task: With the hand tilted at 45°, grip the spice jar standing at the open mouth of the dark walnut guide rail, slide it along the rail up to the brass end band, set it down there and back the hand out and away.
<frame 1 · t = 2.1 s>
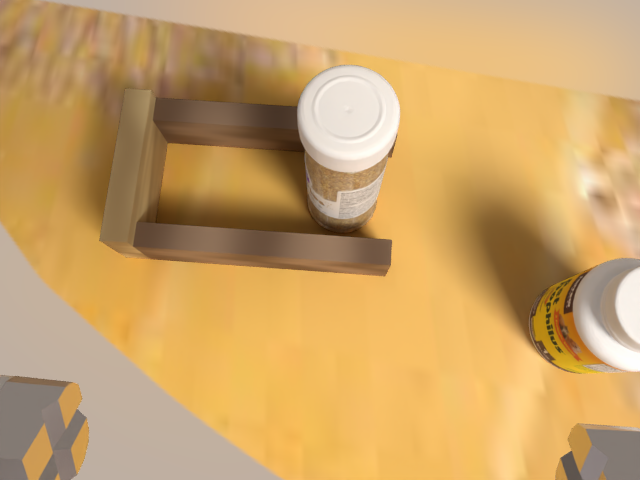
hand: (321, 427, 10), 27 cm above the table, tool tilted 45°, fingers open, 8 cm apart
spice jar: (342, 202, 39), on the table
supplement bottle: (569, 328, 37), on the table
guide rail: (281, 196, 39), on the table
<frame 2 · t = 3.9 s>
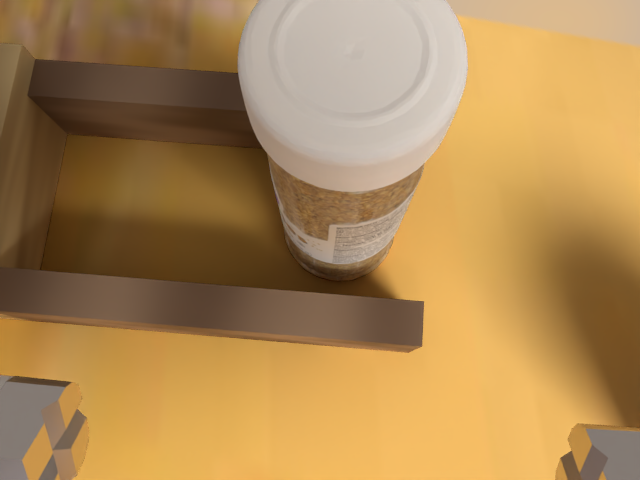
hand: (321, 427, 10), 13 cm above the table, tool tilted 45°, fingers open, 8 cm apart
spice jar: (339, 230, 25), on the table
guide rail: (243, 221, 25), on the table
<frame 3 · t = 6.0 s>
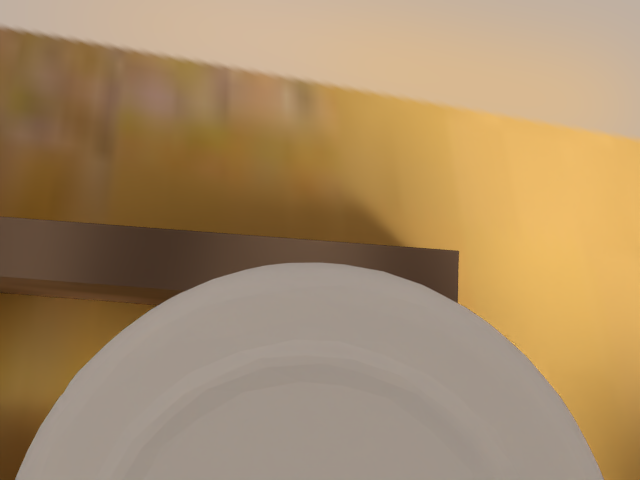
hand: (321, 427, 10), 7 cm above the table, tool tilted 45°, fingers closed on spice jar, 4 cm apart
spice jar: (321, 433, 17), on the table, touching gripper
guide rail: (183, 421, 17), on the table
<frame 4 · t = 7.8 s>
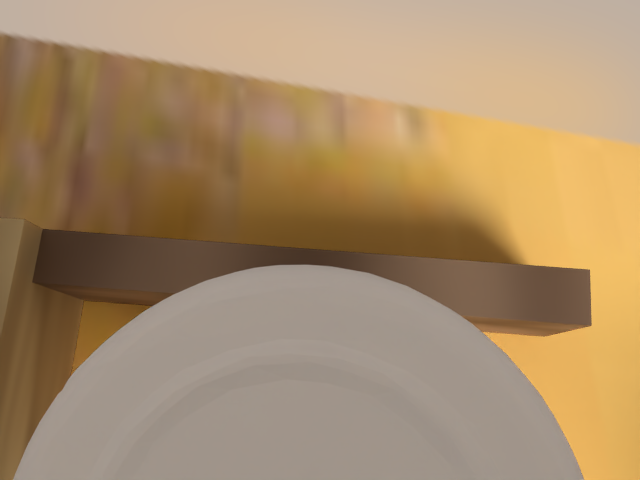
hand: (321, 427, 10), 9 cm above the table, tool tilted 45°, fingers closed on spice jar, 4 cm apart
spice jar: (327, 434, 17), point 1 cm above the table, touching gripper
guide rail: (318, 423, 19), on the table
when the fingers open (8 cm above the table, at t = 10.0 s): spice jar stays where it is, on the table.
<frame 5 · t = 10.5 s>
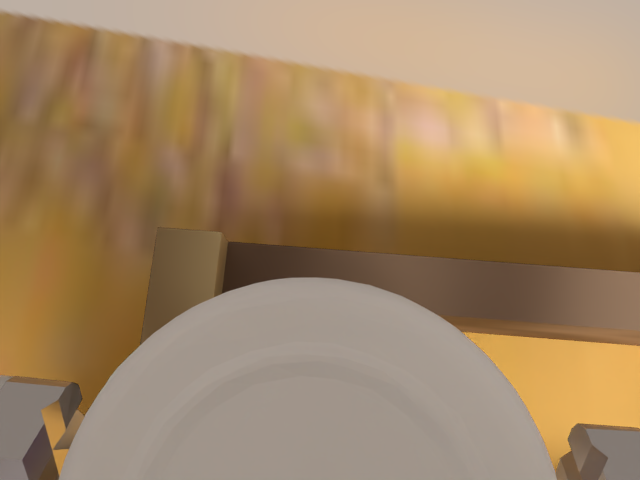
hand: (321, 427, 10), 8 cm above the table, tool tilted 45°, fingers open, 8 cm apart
spice jar: (320, 432, 18), on the table
guide rail: (494, 444, 18), on the table
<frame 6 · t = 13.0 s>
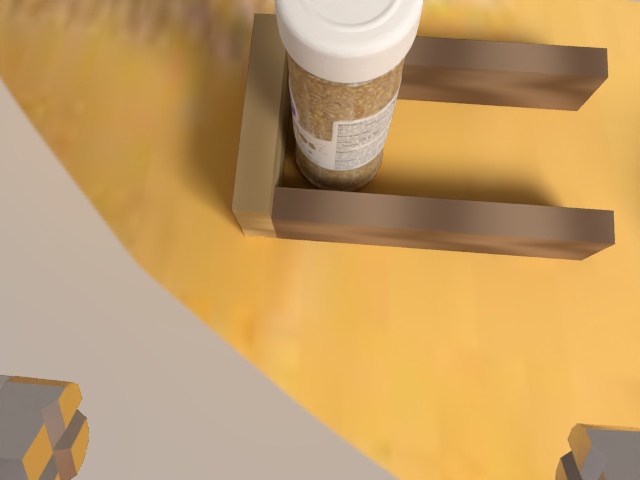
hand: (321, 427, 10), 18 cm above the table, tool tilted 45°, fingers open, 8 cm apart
spice jar: (339, 156, 31), on the table
guide rail: (441, 159, 31), on the table
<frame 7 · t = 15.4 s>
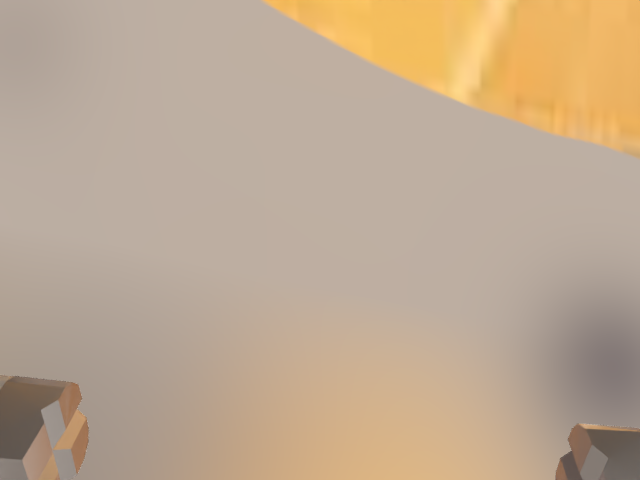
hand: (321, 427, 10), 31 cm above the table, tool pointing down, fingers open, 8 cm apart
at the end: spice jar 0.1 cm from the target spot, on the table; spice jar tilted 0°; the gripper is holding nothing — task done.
